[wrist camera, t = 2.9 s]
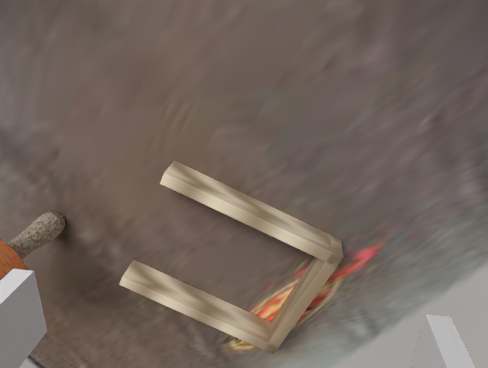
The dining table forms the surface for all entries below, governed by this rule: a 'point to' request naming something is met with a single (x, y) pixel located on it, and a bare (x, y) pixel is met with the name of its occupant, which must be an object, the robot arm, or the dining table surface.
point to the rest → (261, 219)
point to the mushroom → (29, 241)
